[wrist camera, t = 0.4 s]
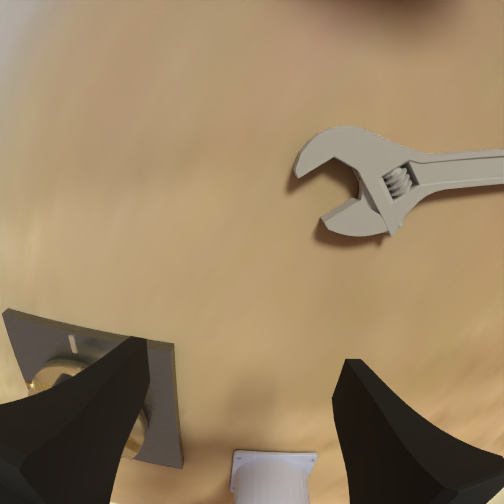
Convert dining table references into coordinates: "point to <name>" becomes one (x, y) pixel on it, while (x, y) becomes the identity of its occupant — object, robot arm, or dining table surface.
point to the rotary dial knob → (66, 369)
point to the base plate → (89, 351)
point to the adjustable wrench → (391, 176)
